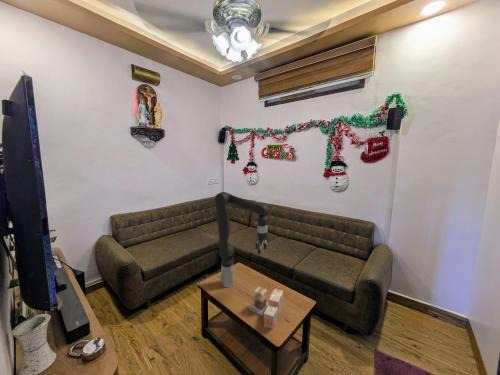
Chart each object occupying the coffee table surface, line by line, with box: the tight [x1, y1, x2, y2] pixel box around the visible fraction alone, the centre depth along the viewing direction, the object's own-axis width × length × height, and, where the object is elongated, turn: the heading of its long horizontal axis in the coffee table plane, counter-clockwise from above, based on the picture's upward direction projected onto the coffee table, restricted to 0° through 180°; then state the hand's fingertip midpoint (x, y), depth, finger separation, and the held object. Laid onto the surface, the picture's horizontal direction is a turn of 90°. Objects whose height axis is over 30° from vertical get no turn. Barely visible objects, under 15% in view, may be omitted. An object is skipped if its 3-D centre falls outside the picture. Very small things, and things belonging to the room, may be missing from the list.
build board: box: [248, 301, 269, 318], centre depth 143 cm, size 11×12×1 cm
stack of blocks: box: [263, 288, 284, 330], centre depth 135 cm, size 21×6×12 cm, turn 155°
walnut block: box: [253, 298, 267, 310], centre depth 142 cm, size 6×6×6 cm
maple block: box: [253, 285, 268, 302], centre depth 141 cm, size 6×6×6 cm
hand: (262, 251), depth 155 cm, fingers open, 8 cm apart
